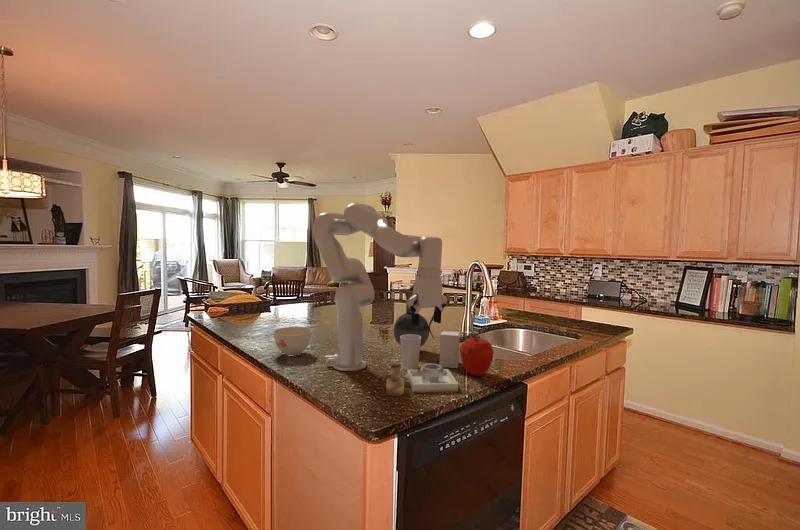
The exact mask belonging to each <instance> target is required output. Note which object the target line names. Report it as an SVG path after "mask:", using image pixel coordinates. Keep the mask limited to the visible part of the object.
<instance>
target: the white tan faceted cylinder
mask: <svg viewBox="0 0 800 530" xmlns="http://www.w3.org/2000/svg"><path fill="white" fill-rule="evenodd" d="M389 366H390V367H389V368H390V377H388V378H386V381H385V383H386V388H385V393H386V395H388V396H391V397H392V396H393V397H399V396H400V397H401V396H403V395H404V394H405V379H404V378H403V377H401V369H402V363H390V364H389Z"/></svg>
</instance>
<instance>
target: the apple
mask: <svg viewBox="0 0 800 530" xmlns="http://www.w3.org/2000/svg"><path fill="white" fill-rule="evenodd" d="M459 355H460V360H461V362H462V366H463V368H464V370H465V371H466V372H468V373H469V375H471V376H475V377H482V376H483V375H484V374H486V373H487V372H488V370H489V369H490V366H491V364H492V363H493V358H494V349H493V346H492V344H491V343H490V342H489V341H488V340H487V339H483V338H479V337H478V336H476V337H470V338H467V339H466V340H464V341H463V342H462V343H461V345H460V346H459Z"/></svg>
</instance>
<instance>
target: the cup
mask: <svg viewBox="0 0 800 530" xmlns="http://www.w3.org/2000/svg"><path fill="white" fill-rule="evenodd" d="M400 341H401V345H400V353H401V369H403V370H404V371H407V370H418V369H419V362H420V352H421V347H420V344H421V336H419V335H413V334H406V335H401V336H400Z"/></svg>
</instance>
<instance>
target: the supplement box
mask: <svg viewBox="0 0 800 530" xmlns="http://www.w3.org/2000/svg"><path fill="white" fill-rule="evenodd" d="M460 337H461V336H460V331H450V330H449V331H448V330H447V331H446V330H442V331H441V333H440V335H439V365H441V366H442V367H443V368H451V369H452V368H453V369H458V368H459V363H460V361H459V360H460V339H461V338H460Z"/></svg>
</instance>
